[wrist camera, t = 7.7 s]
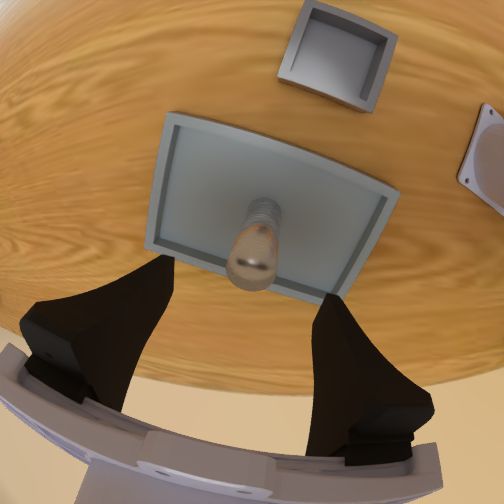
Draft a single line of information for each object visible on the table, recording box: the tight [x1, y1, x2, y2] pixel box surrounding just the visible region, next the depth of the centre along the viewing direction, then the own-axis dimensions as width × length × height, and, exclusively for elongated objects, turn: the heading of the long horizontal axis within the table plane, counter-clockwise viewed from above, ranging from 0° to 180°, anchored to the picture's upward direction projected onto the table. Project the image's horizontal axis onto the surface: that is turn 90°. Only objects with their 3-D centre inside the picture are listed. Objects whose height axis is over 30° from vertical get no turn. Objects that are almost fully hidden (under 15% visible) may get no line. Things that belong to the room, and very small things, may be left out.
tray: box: [144, 111, 401, 306], centre depth 21 cm, size 18×12×2 cm, turn 73°
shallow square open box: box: [277, 0, 398, 114], centre depth 14 cm, size 6×6×3 cm
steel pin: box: [226, 197, 281, 291], centre depth 17 cm, size 3×3×8 cm
